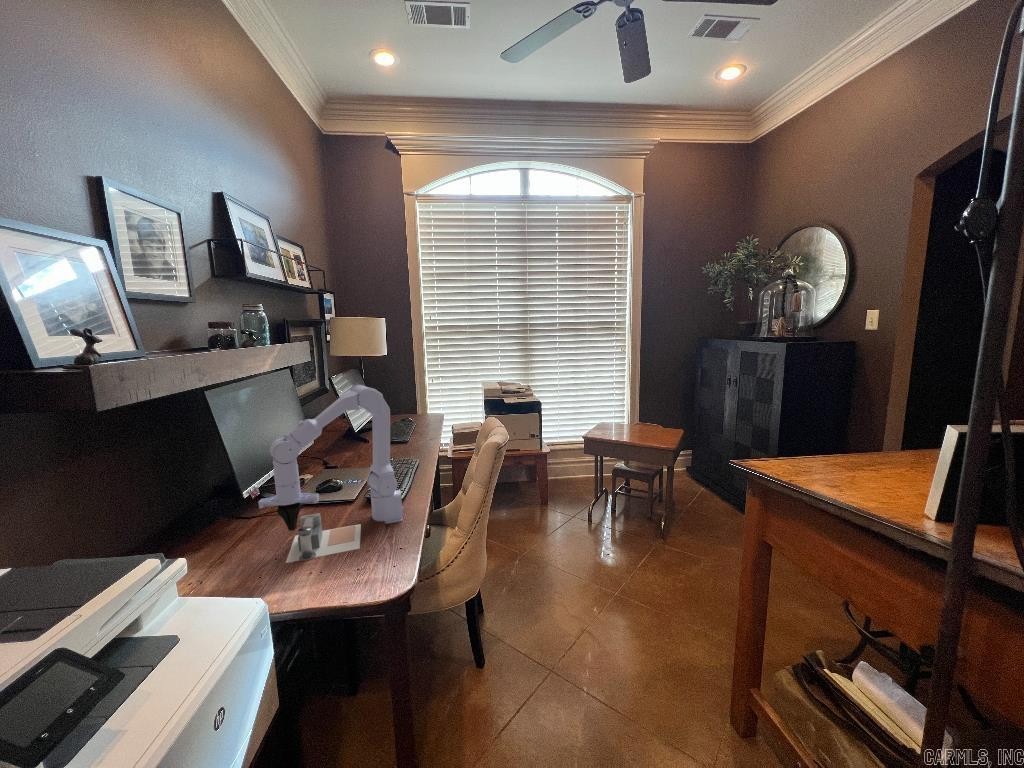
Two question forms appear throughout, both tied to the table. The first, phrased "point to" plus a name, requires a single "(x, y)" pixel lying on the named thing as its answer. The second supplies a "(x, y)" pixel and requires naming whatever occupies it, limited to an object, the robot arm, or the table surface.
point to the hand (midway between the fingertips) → (292, 528)
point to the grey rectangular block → (314, 537)
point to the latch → (307, 532)
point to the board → (330, 543)
